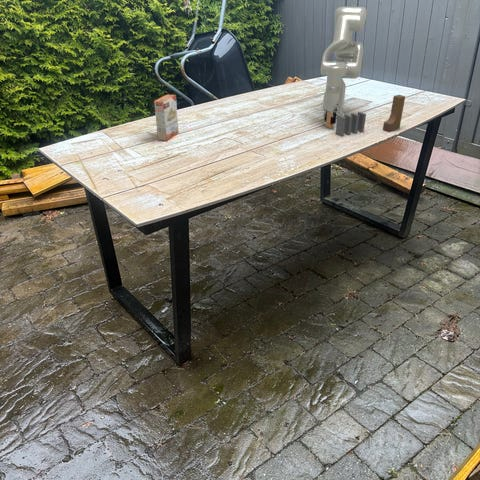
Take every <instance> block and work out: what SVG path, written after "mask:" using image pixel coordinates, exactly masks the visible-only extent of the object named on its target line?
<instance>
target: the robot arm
mask: <svg viewBox="0 0 480 480" xmlns="http://www.w3.org/2000/svg"><path fill="white" fill-rule="evenodd" d="M367 11H368V10H367V9H366V7H364V6H340V7H337V8H336V9H335V11H334V23H335V28H334V34H333V42H331V44H329V46H327V48H326V49H325V50H324V52H323V54H322V56H321V57H322V58H321V65H320V74H321V75H322V76H325V77H326V86H325V91H324V94H323V99H322V109H323V111H324V113H323V115H324V118H323V120H324V122H326V118H327V111H329V112H331V114H332V117H331V120H330V124H333V125H335V124H337V115H341V116H343V117H344V114H346V113H345V112H344V106H345V97H346V89H347V86H346V83H345V80H344V79H349V80H350V79H353V80H354V79H358V78H359V77H360V74H361V69H362V63H363V57H364V45H363V43H362V42H360V41H352V39H353V32H361V31H362V30H363V28H364V26H365V22H366V19H367ZM332 54H334V57H335V58H336V59H335V60H332V61H329V60H328V59H329V57H330V56H331V55H332ZM333 112H335V113H333Z"/></svg>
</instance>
